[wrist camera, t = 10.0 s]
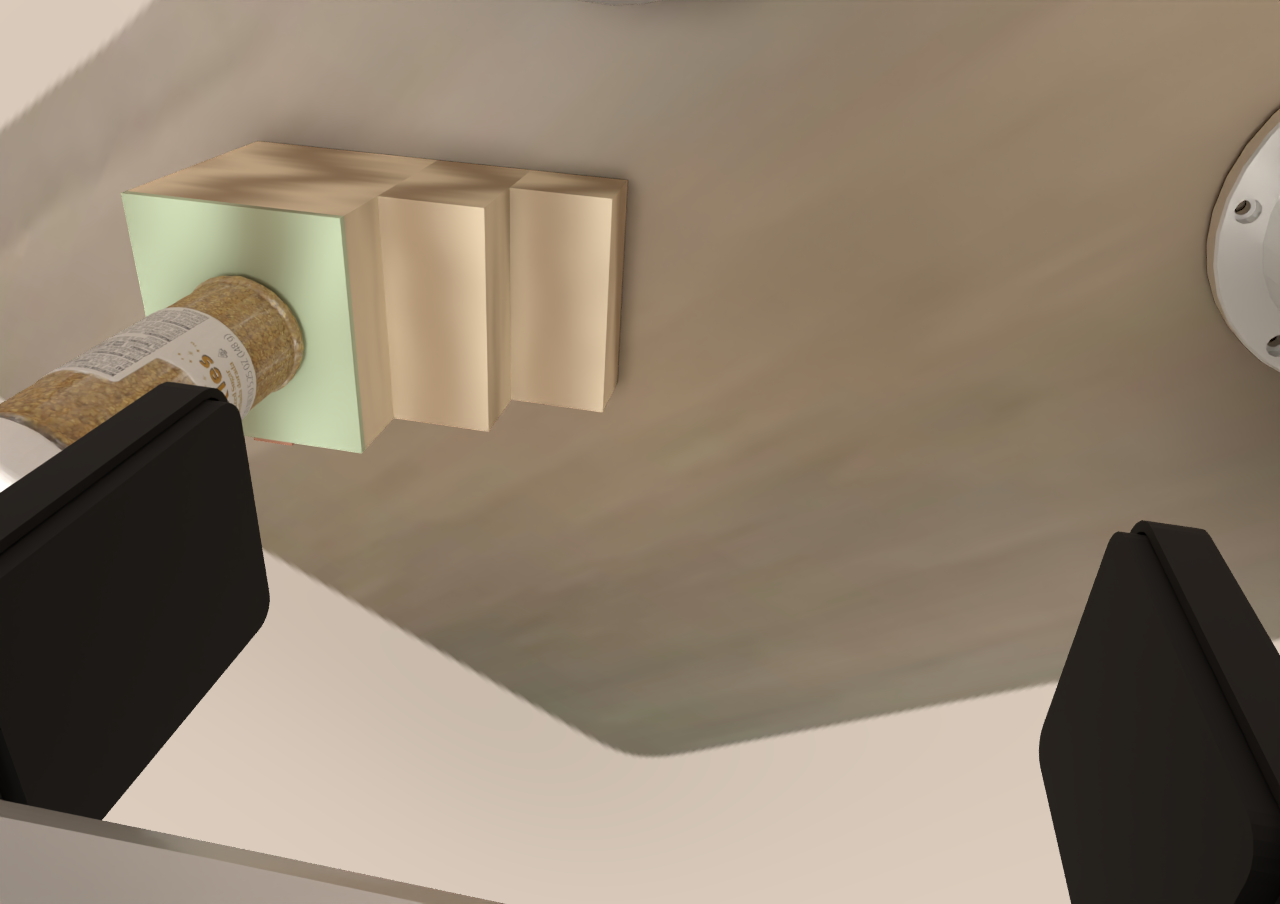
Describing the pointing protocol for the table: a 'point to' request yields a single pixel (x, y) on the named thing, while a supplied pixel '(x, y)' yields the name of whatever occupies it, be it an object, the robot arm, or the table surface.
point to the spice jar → (157, 368)
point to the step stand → (399, 281)
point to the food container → (620, 1)
